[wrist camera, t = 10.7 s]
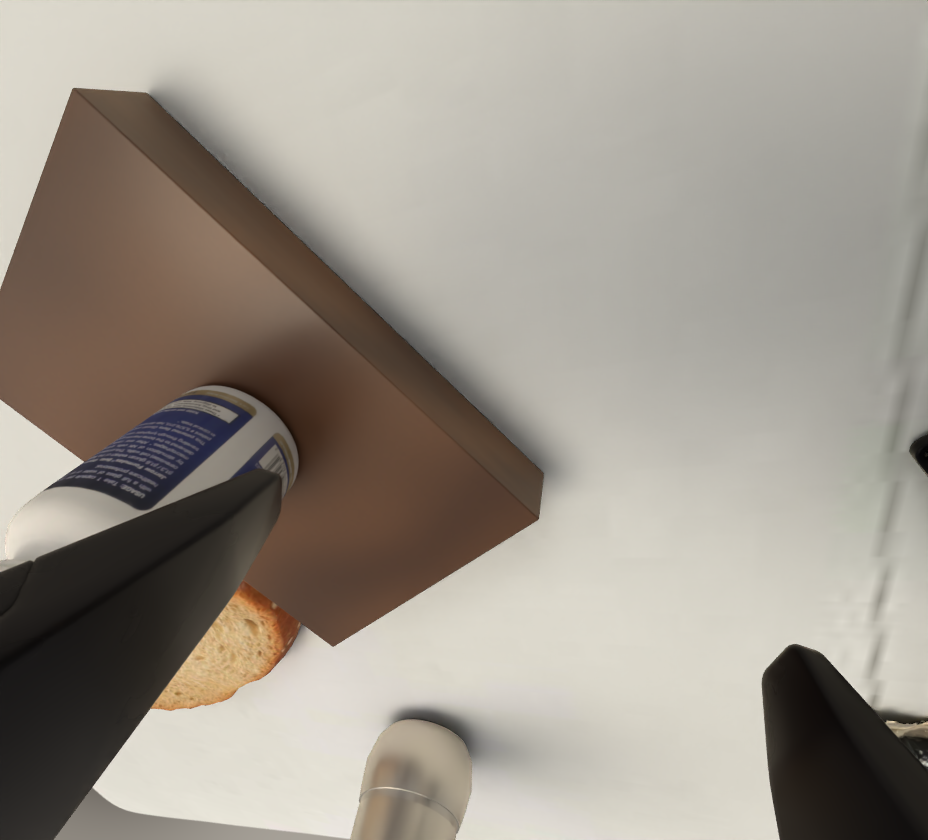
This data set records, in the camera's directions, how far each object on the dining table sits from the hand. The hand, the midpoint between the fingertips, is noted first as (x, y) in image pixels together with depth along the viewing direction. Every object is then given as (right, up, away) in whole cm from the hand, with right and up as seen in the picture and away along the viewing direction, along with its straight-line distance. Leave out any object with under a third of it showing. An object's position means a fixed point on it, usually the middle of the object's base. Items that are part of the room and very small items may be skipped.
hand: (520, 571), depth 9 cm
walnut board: (-9, +3, +14) cm, 17 cm away
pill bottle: (-10, +2, +12) cm, 15 cm away
